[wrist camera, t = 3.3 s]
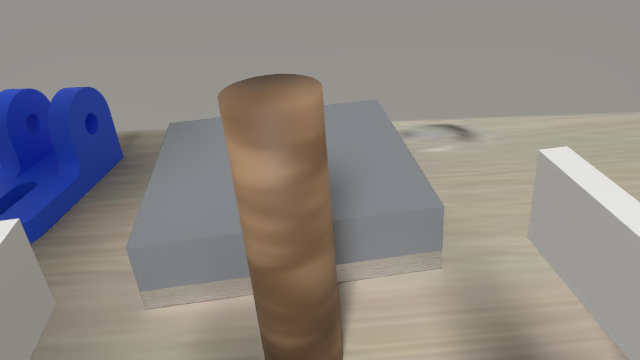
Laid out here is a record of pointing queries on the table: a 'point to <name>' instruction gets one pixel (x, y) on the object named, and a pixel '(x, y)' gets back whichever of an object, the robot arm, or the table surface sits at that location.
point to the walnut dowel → (285, 211)
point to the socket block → (224, 222)
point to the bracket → (52, 153)
